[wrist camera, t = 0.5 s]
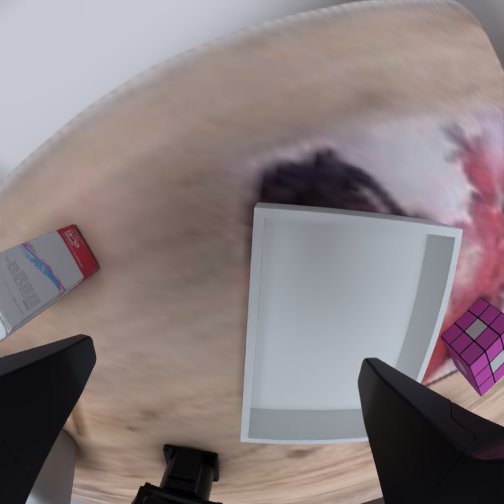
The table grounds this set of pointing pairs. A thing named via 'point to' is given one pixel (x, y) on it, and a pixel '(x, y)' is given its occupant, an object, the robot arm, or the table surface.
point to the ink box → (40, 275)
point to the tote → (337, 314)
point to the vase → (56, 474)
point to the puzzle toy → (478, 345)
